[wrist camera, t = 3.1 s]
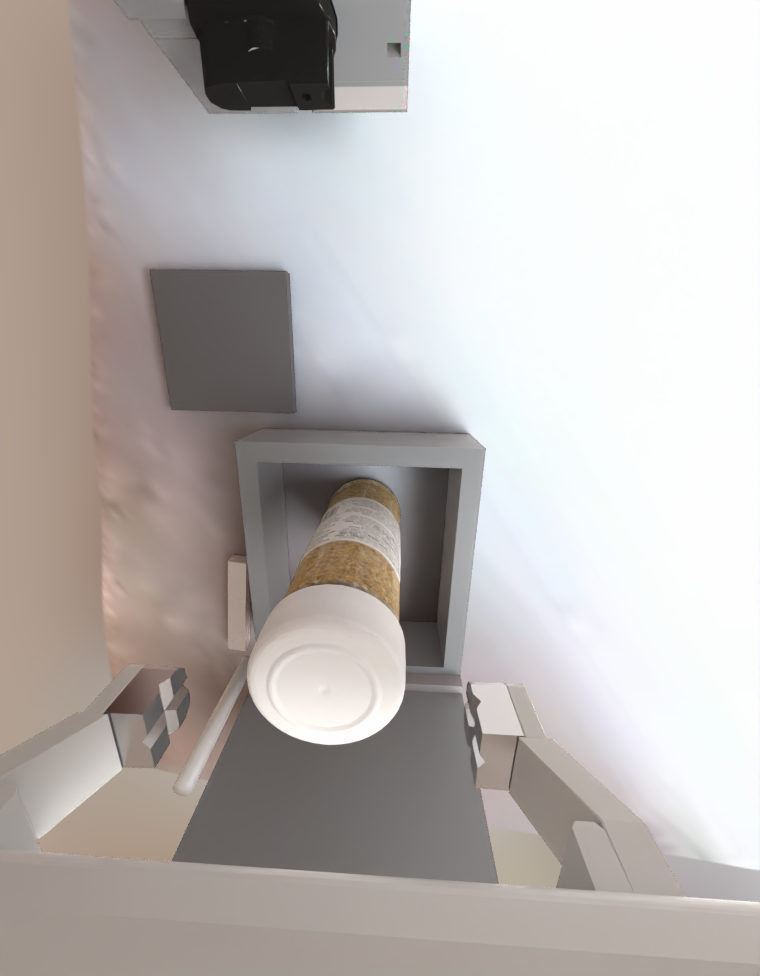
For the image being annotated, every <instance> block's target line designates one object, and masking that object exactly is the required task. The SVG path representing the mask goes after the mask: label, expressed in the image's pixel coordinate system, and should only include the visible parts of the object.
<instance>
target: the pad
mask: <svg viewBox="0 0 760 976" xmlns="http://www.w3.org/2000/svg"><path fill="white" fill-rule="evenodd" d="M150 275H151V281H152V287H153V294H154V300H155V307H156V313H157V320H158V326H159V333H160V339H161V345H162V352H163V358H164V365H165V371H166V378H167V384H168V391H169V397H170V403H171V410H199V411H236V412H274V413H295V412H296V393H295V373H294V353H293V333H292V313H291V294H290V274H289V273H288V272H287V271H229V270H150Z"/></svg>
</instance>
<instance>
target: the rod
mask: <svg viewBox="0 0 760 976" xmlns="http://www.w3.org/2000/svg"><path fill="white" fill-rule="evenodd" d="M250 601H251V593H250V583H249V574H248V564H247V557H246V556H239V555H233V556H232V557H231V558H230V559H229V560H228V649H232V650H239V651H245V650H246V648H247V646H248V644H249V643H250Z"/></svg>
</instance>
